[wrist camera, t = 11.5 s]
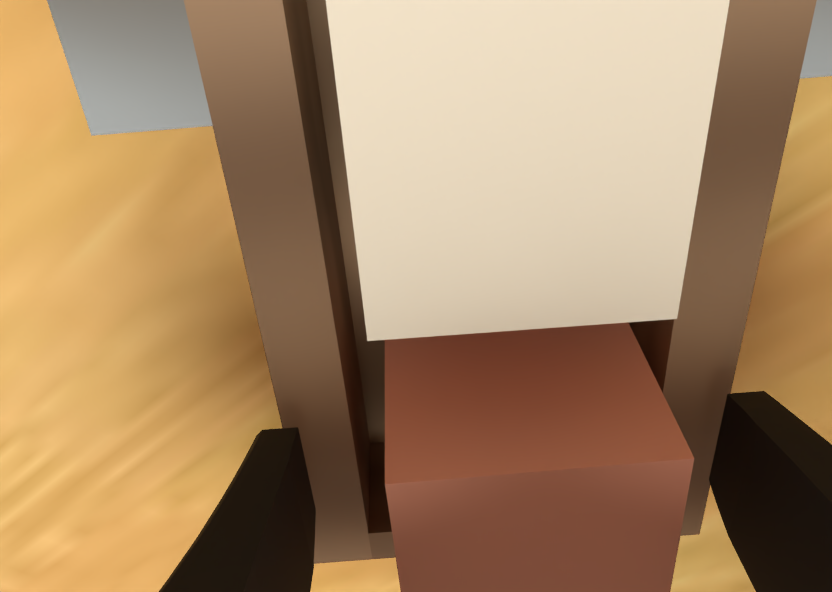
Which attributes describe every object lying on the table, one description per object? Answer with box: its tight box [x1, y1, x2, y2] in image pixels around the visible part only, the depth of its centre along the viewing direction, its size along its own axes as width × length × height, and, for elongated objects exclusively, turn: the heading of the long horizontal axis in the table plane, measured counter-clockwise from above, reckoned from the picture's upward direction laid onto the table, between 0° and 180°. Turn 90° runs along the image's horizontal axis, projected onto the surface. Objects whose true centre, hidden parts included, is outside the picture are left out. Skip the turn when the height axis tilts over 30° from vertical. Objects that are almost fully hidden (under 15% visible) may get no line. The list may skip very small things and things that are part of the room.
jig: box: [47, 0, 832, 564], centre depth 12 cm, size 16×13×4 cm
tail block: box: [385, 322, 694, 592], centre depth 13 cm, size 4×4×6 cm
